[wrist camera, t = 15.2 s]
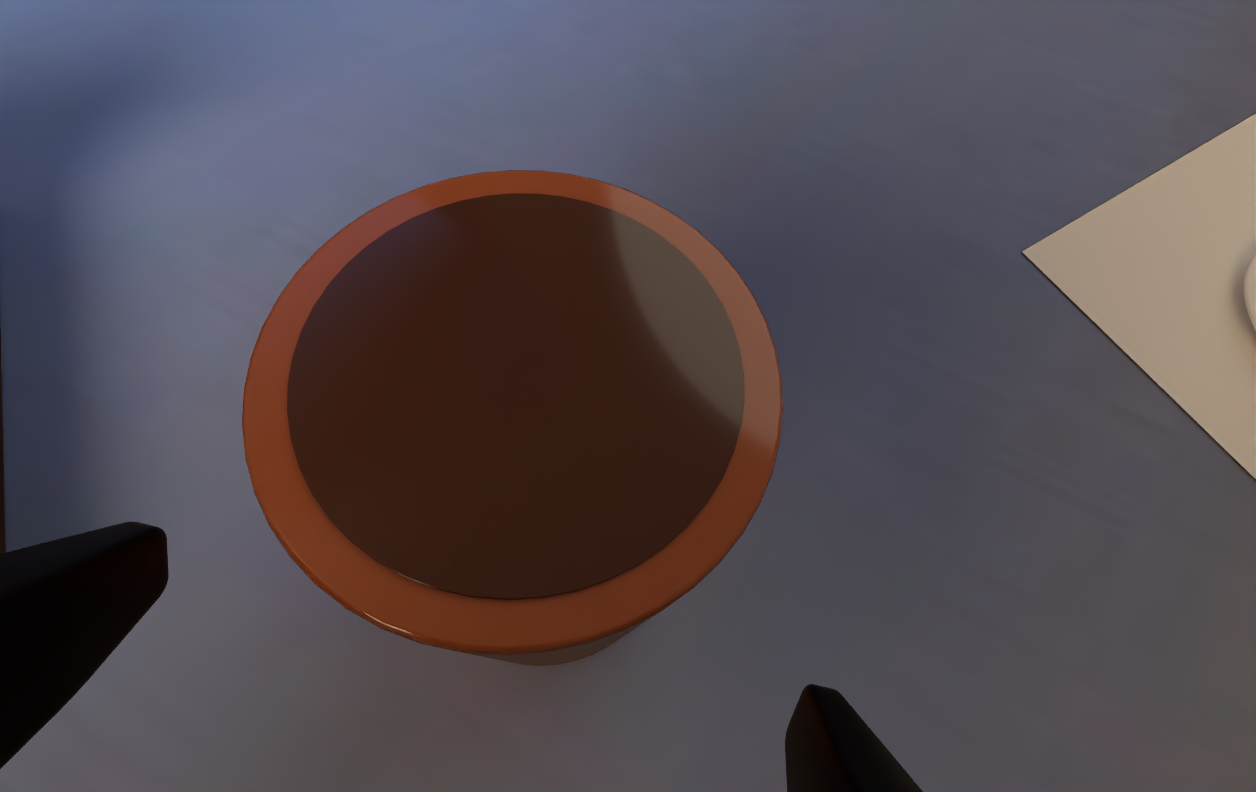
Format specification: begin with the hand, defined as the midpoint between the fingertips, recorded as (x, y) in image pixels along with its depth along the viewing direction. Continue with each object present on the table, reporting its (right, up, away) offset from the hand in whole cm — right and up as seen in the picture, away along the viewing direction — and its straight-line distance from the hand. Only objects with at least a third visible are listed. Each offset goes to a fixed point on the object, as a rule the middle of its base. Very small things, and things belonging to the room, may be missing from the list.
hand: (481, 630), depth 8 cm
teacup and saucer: (+29, +5, +12) cm, 32 cm away
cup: (0, 0, +7) cm, 7 cm away
